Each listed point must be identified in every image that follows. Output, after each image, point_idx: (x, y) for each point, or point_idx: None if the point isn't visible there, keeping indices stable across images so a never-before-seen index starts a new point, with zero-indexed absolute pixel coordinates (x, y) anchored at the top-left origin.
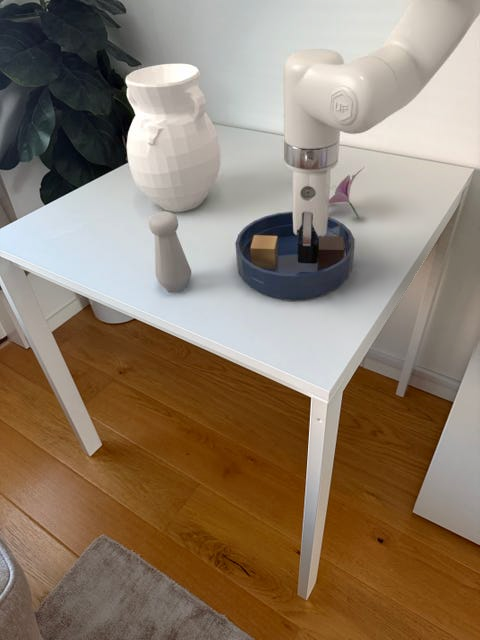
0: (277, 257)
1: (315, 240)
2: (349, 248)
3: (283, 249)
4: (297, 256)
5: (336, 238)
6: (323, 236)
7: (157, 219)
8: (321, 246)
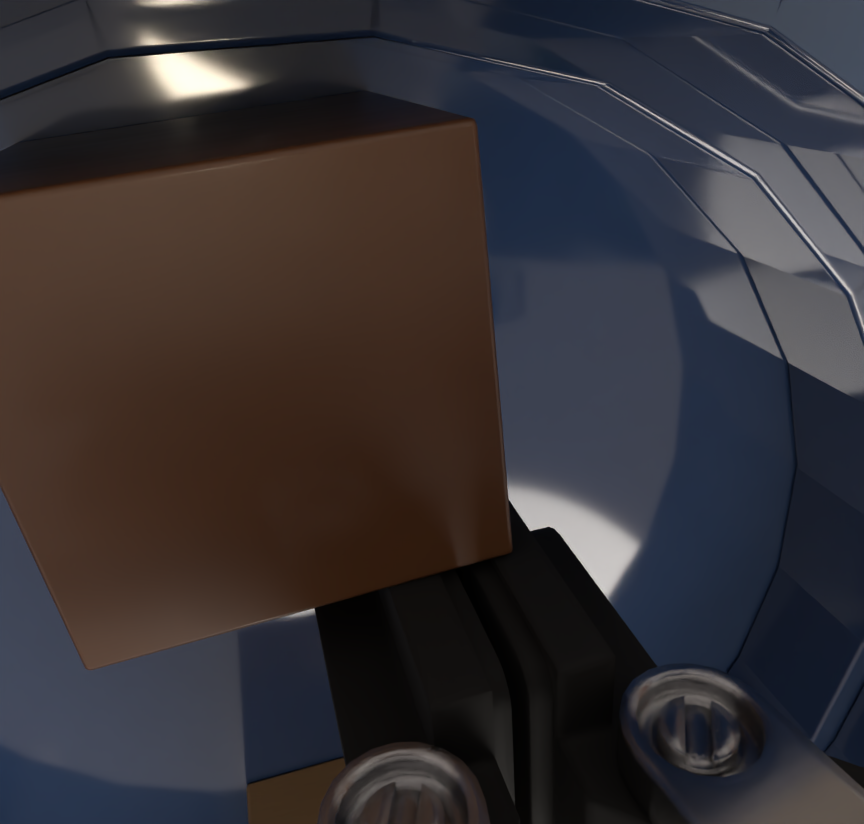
0: (285, 776)
1: (815, 768)
2: (51, 4)
3: (115, 787)
4: (203, 640)
5: (51, 355)
6: (61, 602)
7: None
8: (420, 539)
